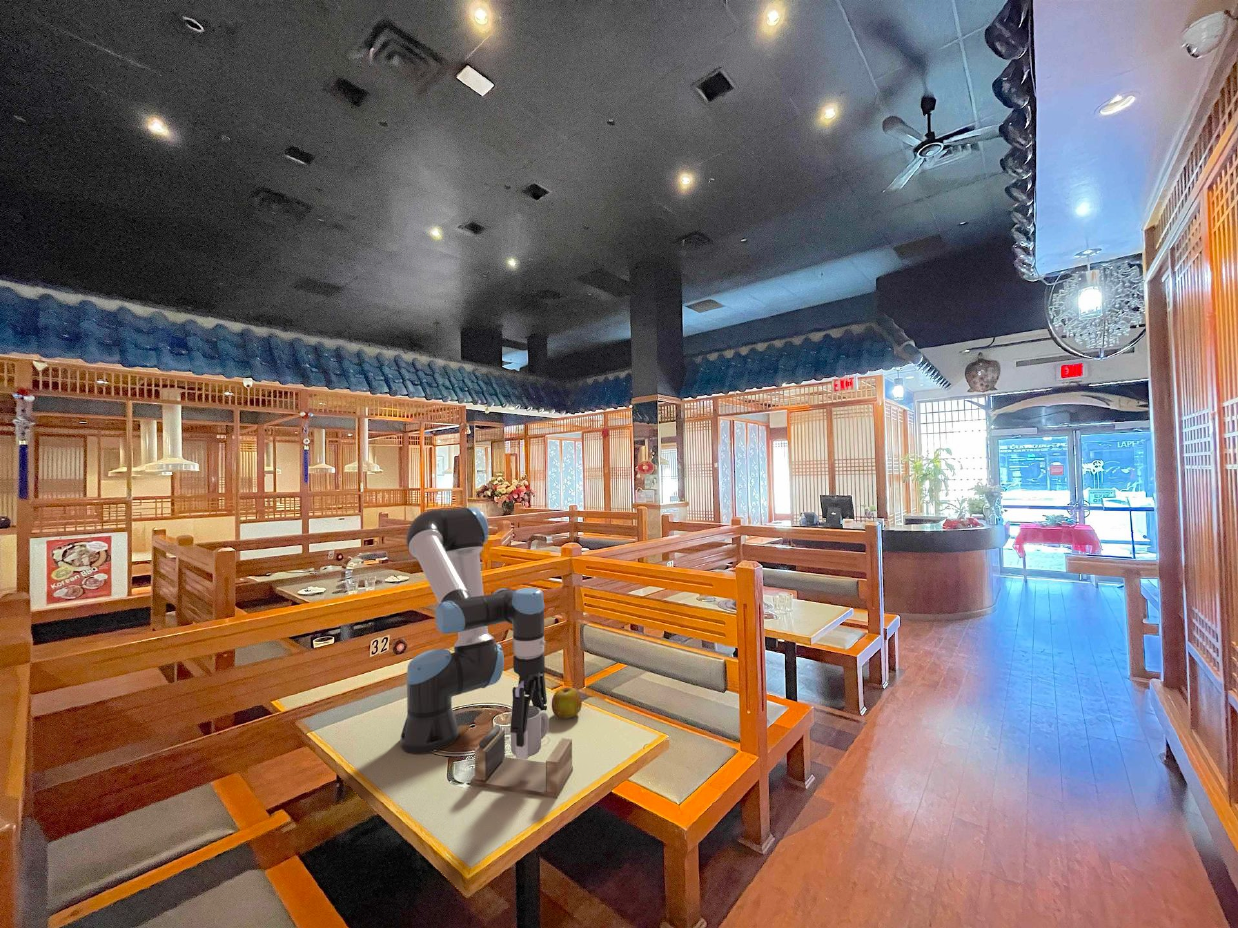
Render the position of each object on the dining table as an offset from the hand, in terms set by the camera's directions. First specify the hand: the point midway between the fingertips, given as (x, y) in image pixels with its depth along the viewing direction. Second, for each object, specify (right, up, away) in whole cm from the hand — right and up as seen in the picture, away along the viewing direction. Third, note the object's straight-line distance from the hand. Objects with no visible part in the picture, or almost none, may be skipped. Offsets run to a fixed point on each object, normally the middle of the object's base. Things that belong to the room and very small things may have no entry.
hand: (530, 747), depth 122 cm
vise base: (-2, -8, +1) cm, 8 cm away
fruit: (+6, -8, +31) cm, 33 cm away
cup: (0, 0, 0) cm, 1 cm away
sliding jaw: (-10, -6, +3) cm, 12 cm away
